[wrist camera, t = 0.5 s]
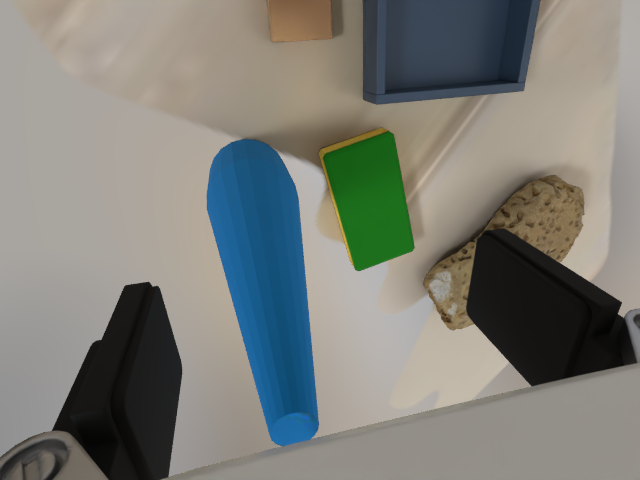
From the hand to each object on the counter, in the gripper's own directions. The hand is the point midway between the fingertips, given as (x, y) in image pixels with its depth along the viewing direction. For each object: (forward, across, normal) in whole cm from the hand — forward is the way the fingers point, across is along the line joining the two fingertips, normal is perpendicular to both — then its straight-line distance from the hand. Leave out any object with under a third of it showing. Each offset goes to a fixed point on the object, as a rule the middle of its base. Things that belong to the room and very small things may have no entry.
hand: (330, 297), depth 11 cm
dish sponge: (+28, -10, +8) cm, 31 cm away
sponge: (+28, -27, +16) cm, 42 cm away
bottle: (+28, +2, +4) cm, 28 cm away
